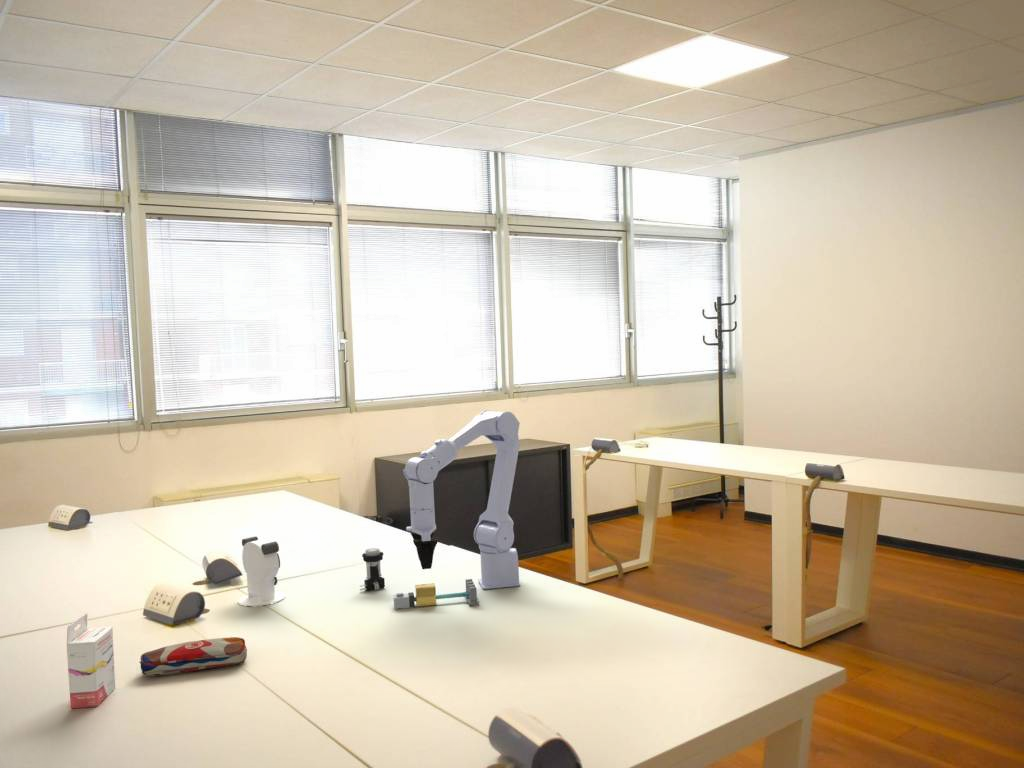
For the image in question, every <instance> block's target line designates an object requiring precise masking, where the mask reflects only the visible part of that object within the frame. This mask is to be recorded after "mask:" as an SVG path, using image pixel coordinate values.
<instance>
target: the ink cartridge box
mask: <svg viewBox="0 0 1024 768" xmlns="http://www.w3.org/2000/svg"><path fill="white" fill-rule="evenodd" d="M78 625H80V627H78V628H77V626H78ZM76 628H77V629H76ZM75 629H76V630H75ZM113 633H114V631H113V627H112V626H105V627H94V628H93V627H91V628H88V613H84V614H83V615H81V616H80V617H79V618H77V619H76V620H74V621H73V622H72V623H70V624H69V625H68V626H67V631H66V654H67V655H66V656H67V657H66V658H67V671H68V675H67V676H68V687H69V700H70V701H69V703H70V708H71V709H79V708H80V709H81V708H94V707H95V708H96V707H99V705H100V704H101V703H102V702H103V701H105V699H106V698H107V697H108V696H109V695H110V694H112V692H113V691H114V690H116V671H115V657H114V656H115V654H114V637H113Z"/></svg>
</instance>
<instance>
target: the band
mask: <svg viewBox="0 0 1024 768" xmlns="http://www.w3.org/2000/svg"><path fill="white" fill-rule="evenodd" d="M407 594H408V595H409V606H410V607H413V608H416V607H415V605H416V602H415V601H414V597H415V593H414V592H413V591H411V592H408V593H407Z"/></svg>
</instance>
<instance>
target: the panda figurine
mask: <svg viewBox="0 0 1024 768" xmlns="http://www.w3.org/2000/svg"><path fill="white" fill-rule="evenodd" d="M241 545H242V547H243V548H242V554H241V555H242V566H243V569H244V571H245V573H246V582H247V595H243V596H242V597H240V598H239V599H238V600H237V604H238V603H239V604H242V605H246V606H259V607H263V606H262V605H266V606H269V605H268V604H271V603H275V602H278V601H280V602H282V601H283V600H282V599H284V598H286V594H285V593H284V592H280V591H275V586H277V585H278V577H277V575H278V572H279V569H280V567H281V560H280V559H281V558H280V555H279V553H278V552H279V551H280V547H279V543H278V542H277V541H272V542H270V540H268V539H263V538H262V539H259V538H258V537H257V536H256V535H255V536H250V537H246V538H242V539H241ZM281 600H282V601H281ZM284 600H285V599H284ZM278 603H279V602H278ZM239 604H238V605H239ZM275 604H276V603H275ZM271 605H272V604H271ZM246 606H245V607H246Z"/></svg>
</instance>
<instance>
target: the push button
mask: <svg viewBox="0 0 1024 768" xmlns="http://www.w3.org/2000/svg"><path fill="white" fill-rule="evenodd" d="M361 556H362V560H363V561H364V562H365V564H366V565H365V566H366V577H365V579H364V580H363V581H364V584H362V585H361V584H360V585H359V587H361V588H360V589H359V591H364V590H365V591H367V592H370V590H372V591H375V590H376V589H377V590H380V589H379V588H381V589H382V588H383V589H385V588H386V584H385V583H386V582H385V577H382V573H381V572H382V571H381V561H382V560H383V559H384V558H383V556H384V552H383V551H380V548H375V547H373V548H368V549H365V552H363V554H361ZM362 587H363V588H362ZM384 587H385V588H384ZM374 589H375V590H374ZM377 590H376V591H377Z"/></svg>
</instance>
